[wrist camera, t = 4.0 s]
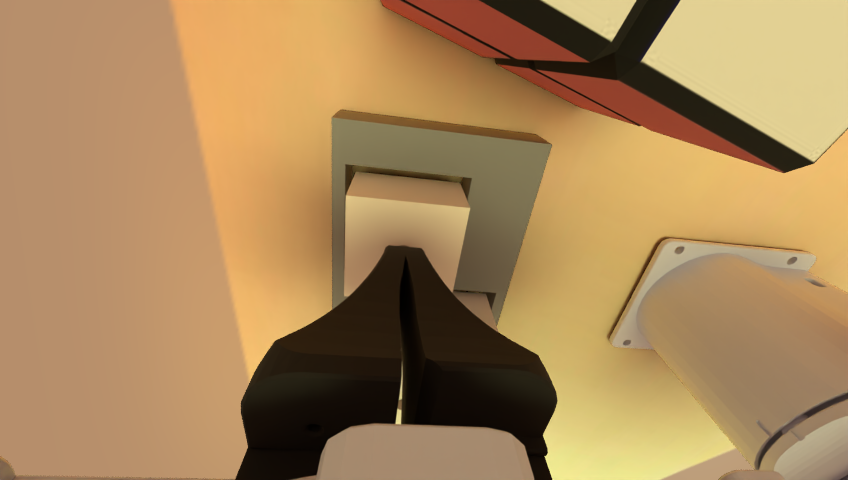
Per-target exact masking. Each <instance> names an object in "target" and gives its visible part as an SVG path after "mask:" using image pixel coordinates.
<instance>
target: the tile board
mask: <svg viewBox="0 0 848 480" xmlns="http://www.w3.org/2000/svg"><path fill="white" fill-rule="evenodd" d="M551 147H552V144H550V143H549V142H547V141H546V140H544V139H543V138H541V137H539V136H538V135H536V134H529V133H521V132H513V131H505V130H497V129H489V128H481V127H473V126H465V125H457V124H449V123H441V122H433V121H425V120H418V119H410V118H402V117H394V116H386V115H378V114H370V113H362V112H354V111H346V110H340V111H339V112H337V113H336V114H335V115H334V116H333V117H332V309H334V308H335V307H336V306H338V305H339V304H340V303H341V302H343V301H344V300H345V299H346V298H347V297H348V296H344V269H345V211H346V194H347V191H348V189H349V187H350V184H351V178H352V165H357V166H366V167H375V168H384V169H393V170H403V171H412V172H421V173H430V174H439V175H448V176H457V177H463V179H462V184H461V186H462V189H463V191H464V194H465V196H466V199H467V201H468V204H469V206H470V212H469V217H468V221H467V226H466V231H465V236H464V240H463V245H462V250H461V255H460V260H459V264H458V269H457V274H456V279H455V284H454V288H453V290H464V291H477V292H483V294H486V296H487V299H488V302H489V305H490V308H491V311H492V314H493V317H494V320H495V323H496V326H497V324H498V320H499V317H500V314H501V311H502V307H503V304H504V301H505V298H506V294H507V291H508V288H509V284H510V281H511V278H512V275H513V271H514V268H515V265H516V261H517V258H518V255H519V252H520V248H521V245H522V242H523V239H524V235H525V232H526V229H527V225H528V222H529V219H530V216H531V212H532V209H533V206H534V202H535V199H536V196H537V193H538V189H539V186H540V183H541V180H542V176H543V173H544V170H545V166H546V163H547V160H548V157H549V153H550V150H551Z"/></svg>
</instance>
